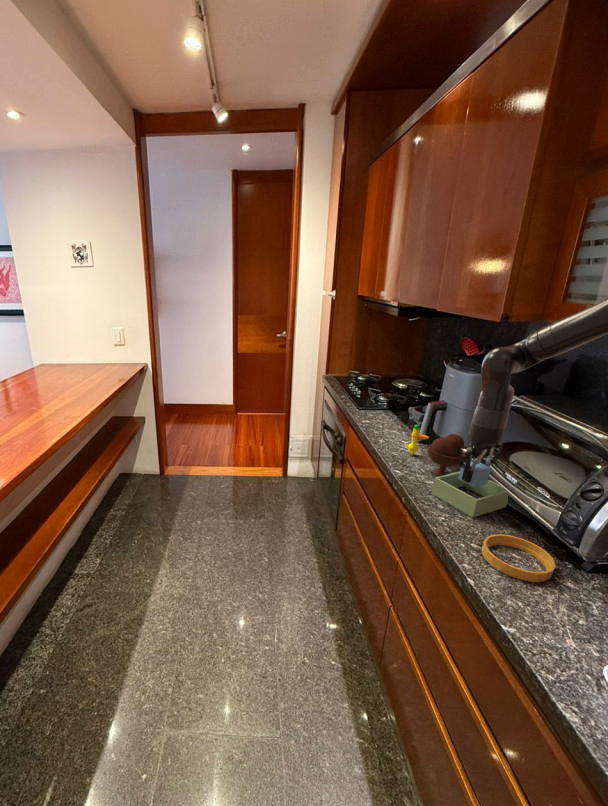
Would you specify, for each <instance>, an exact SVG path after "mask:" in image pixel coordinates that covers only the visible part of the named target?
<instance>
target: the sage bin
mask: <svg viewBox="0 0 608 806" xmlns="http://www.w3.org/2000/svg"><path fill="white" fill-rule="evenodd" d="M459 473H460V471H456V472H452V473H447V474H448V475H444V476H440V477H438V476H435V477H434V480H433V484H432V489H431V495H433V496H435V497H436V498H438V499H440V500H442V501H444V502H445V503H446V504H449V505H450V506H452V507H454V508H456V510H459V511H460V512H462V513H464V514H466V515H467V516H469V517H471V518H475V517H479V516H482V515H485V514H489V513H491V512H495V511H498V510H501V509H505V508H507V506H508V502H509V499H508V491H507V490H506V491H505V490H504V488H503V487H504V486H503V487H502V485H500V484H498V483H496V482H494V481H492V480H490V479H488V482H487V484H484V485H480V486H476V487H473V486H471V485H469V484H467V483H465V482H463V481H461V480H459V479H458V477H459ZM462 487H464V488H466V489H468V490H470V491H472V492H474V493H475V494H478V495H480V496H481V497H479V498H476V497H474V496H472V495H470V494H468V493H467V492H465V491H463V490H461V489H459V488H462Z"/></svg>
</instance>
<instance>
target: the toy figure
mask: <svg viewBox="0 0 608 806" xmlns="http://www.w3.org/2000/svg"><path fill="white" fill-rule="evenodd" d="M413 425H414V427H413V429H412V433H411V434H410V437H411V442H410V443H409V444H407V443H405V446H406V448H407V450H408V453H409V454H410V456H413V455H414V454H416V452H418V450H419V446H418V444H417V443H418V440H424V441H426V440H428V439H429V436H428V435H426V434H422V433H420V432H421V428H420V425H419V424H413Z"/></svg>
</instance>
